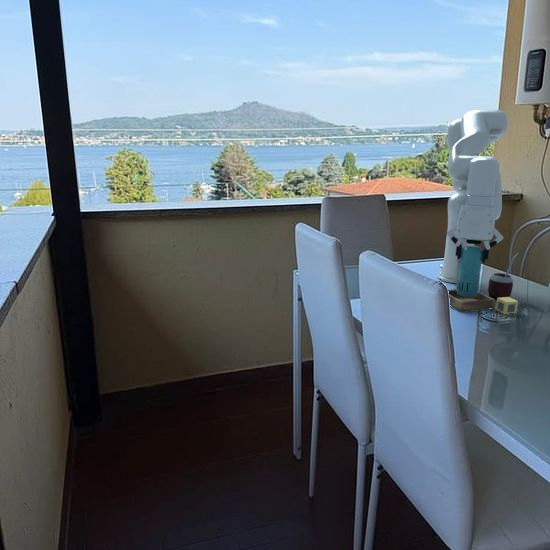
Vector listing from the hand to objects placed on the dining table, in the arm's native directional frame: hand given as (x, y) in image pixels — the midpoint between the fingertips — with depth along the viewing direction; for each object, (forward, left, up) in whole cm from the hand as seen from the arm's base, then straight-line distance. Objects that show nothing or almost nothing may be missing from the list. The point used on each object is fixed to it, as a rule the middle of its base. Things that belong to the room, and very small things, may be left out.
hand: (471, 259), depth 141 cm
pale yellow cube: (+9, +8, -15) cm, 19 cm away
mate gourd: (-2, +14, -15) cm, 20 cm away
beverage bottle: (0, 0, -13) cm, 13 cm away
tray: (0, 0, -14) cm, 14 cm away
